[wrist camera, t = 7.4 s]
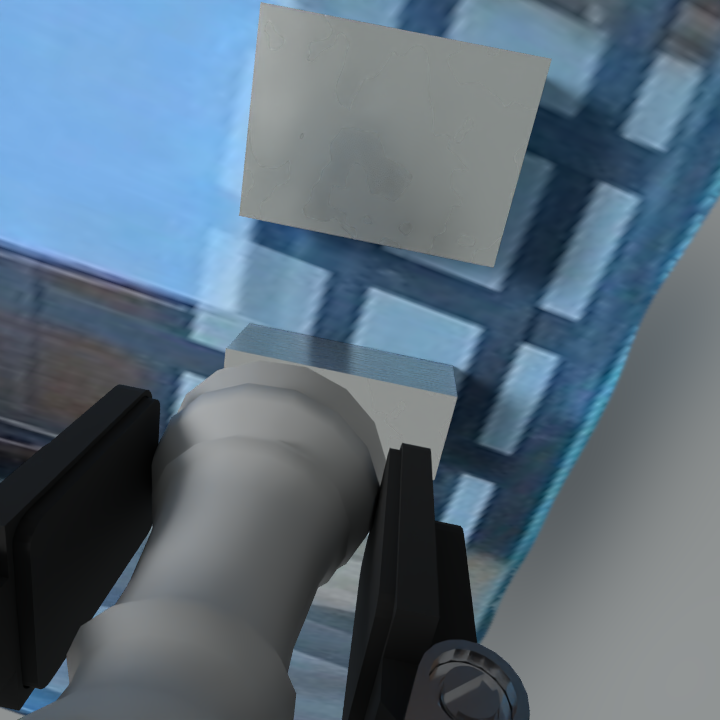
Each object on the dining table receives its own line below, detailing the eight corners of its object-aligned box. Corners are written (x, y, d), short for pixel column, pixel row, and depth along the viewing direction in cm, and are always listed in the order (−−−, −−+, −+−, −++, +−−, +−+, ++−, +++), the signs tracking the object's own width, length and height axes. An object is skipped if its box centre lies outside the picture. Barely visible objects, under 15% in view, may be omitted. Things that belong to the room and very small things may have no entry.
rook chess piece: (138, 452, 12) (-284, 944, 5) (259, 305, 11) (-85, 694, 3) (298, 568, 13) (147, 1140, 6) (432, 446, 12) (465, 1012, 4)
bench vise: (283, 22, 22) (260, 2, 19) (532, 70, 22) (551, 58, 19) (232, 467, 30) (210, 506, 27) (414, 506, 30) (414, 551, 27)
